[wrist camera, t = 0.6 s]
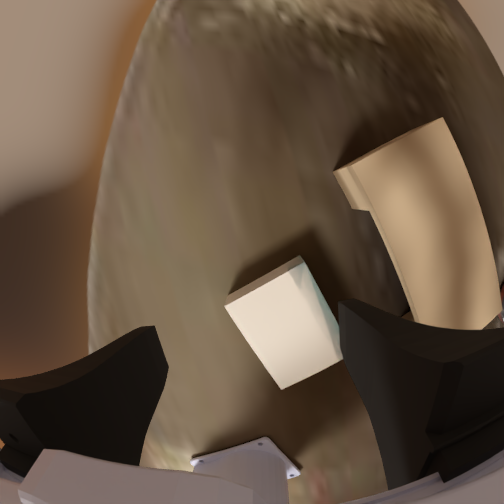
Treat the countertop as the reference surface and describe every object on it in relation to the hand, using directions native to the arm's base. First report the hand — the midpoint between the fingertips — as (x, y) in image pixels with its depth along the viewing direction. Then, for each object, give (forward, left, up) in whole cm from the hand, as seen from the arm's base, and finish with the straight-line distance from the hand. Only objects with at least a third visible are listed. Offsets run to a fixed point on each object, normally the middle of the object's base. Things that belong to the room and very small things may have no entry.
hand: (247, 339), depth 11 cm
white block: (+1, -5, -11) cm, 12 cm away
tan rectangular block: (+13, -5, -10) cm, 17 cm away
